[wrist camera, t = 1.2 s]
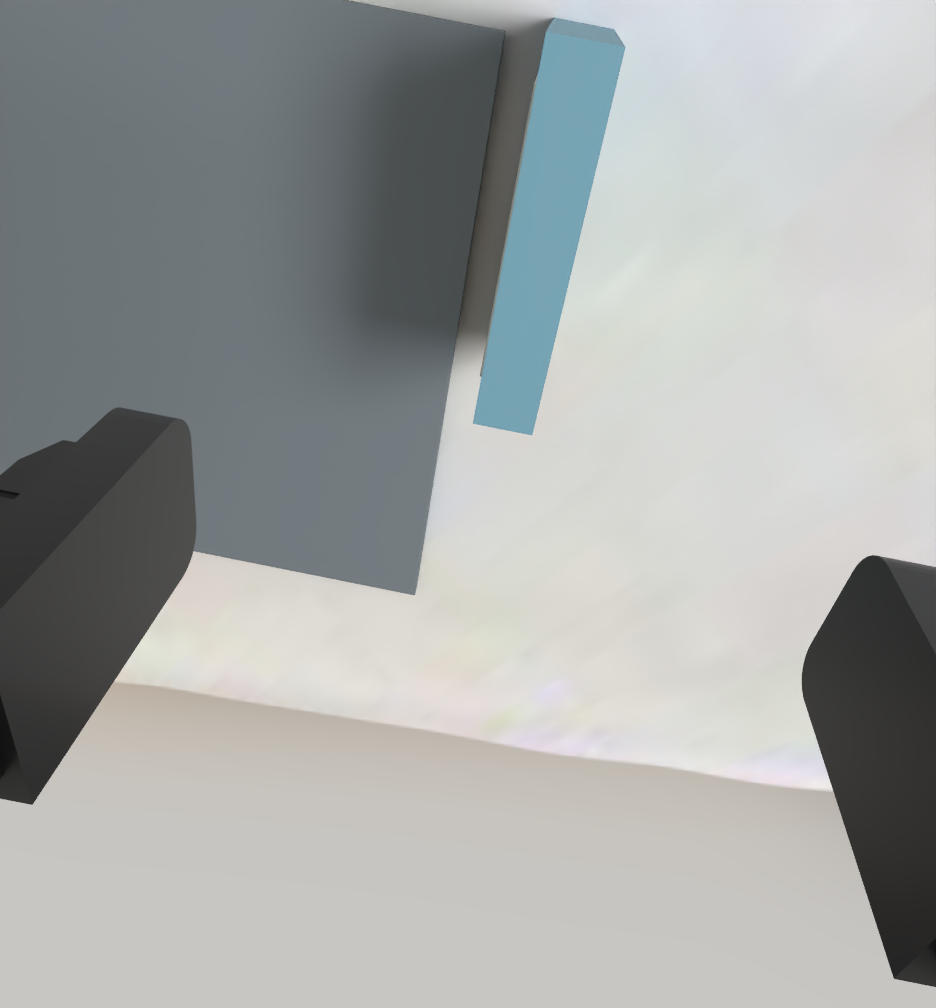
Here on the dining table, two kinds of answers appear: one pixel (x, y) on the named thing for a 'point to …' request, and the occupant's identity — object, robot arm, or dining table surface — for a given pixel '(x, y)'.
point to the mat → (246, 254)
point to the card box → (546, 217)
